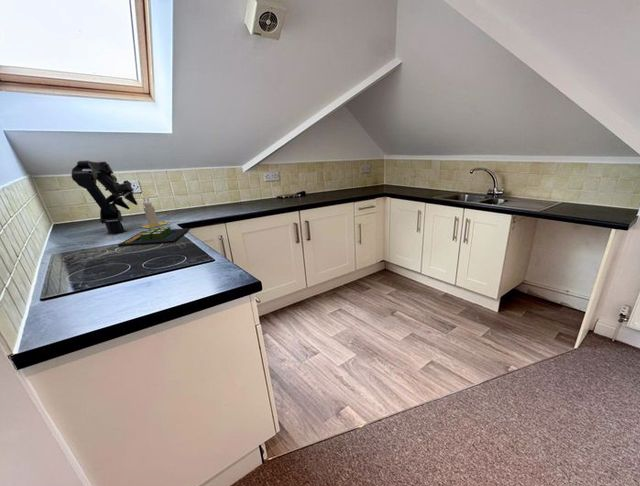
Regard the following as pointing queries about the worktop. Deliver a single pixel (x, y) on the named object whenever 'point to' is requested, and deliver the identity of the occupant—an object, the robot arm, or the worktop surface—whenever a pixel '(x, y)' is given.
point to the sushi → (155, 236)
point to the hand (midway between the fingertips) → (133, 206)
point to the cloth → (154, 226)
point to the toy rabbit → (150, 213)
